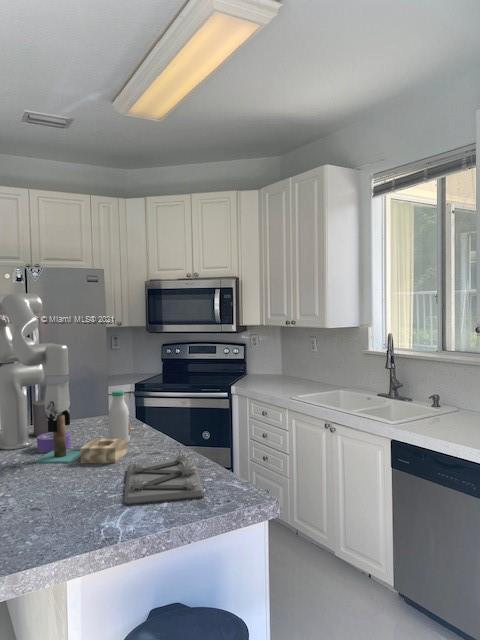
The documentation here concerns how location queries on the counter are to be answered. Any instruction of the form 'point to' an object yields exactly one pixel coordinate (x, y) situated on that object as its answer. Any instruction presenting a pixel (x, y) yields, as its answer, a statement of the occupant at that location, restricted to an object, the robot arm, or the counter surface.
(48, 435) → the tape roll
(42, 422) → the pillar candle
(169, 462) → the decorative plate
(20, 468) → the counter surface
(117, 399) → the milk bottle
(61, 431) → the walnut peg
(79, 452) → the teal mat
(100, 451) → the eye block
